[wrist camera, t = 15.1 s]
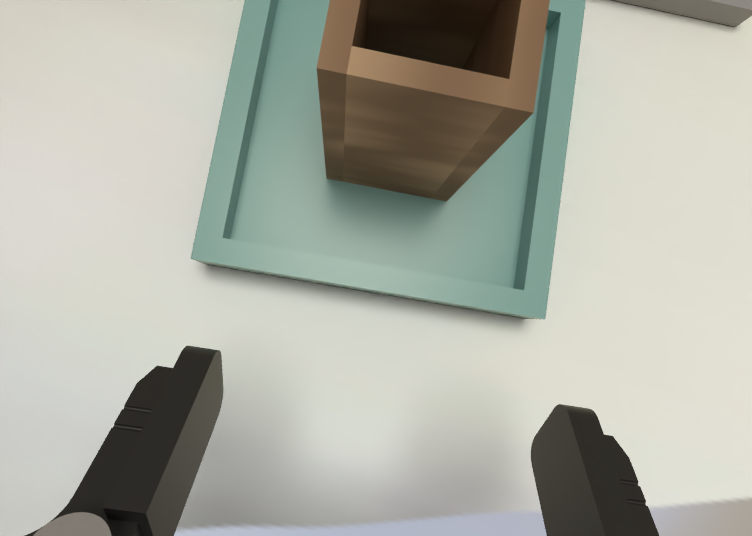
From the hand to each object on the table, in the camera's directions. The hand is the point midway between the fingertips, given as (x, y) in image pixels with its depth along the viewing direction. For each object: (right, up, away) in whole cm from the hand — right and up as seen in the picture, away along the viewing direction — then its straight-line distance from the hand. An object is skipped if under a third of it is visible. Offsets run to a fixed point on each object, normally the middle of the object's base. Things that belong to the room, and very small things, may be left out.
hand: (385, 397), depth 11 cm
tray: (+1, +9, +10) cm, 13 cm away
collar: (+1, +9, +9) cm, 13 cm away
